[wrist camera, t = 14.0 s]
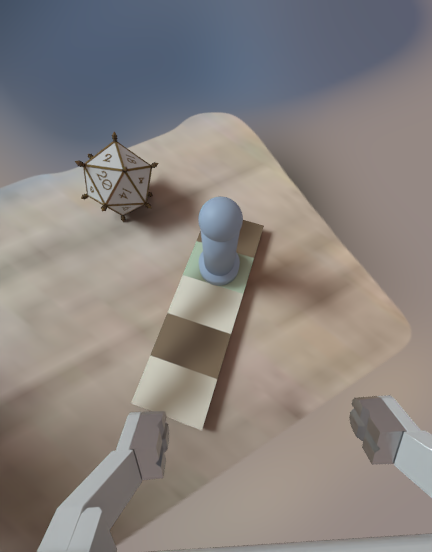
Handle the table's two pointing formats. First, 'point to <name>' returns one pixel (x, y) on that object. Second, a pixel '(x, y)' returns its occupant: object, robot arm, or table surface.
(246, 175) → the table surface
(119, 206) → the game die
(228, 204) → the pawn
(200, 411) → the track
